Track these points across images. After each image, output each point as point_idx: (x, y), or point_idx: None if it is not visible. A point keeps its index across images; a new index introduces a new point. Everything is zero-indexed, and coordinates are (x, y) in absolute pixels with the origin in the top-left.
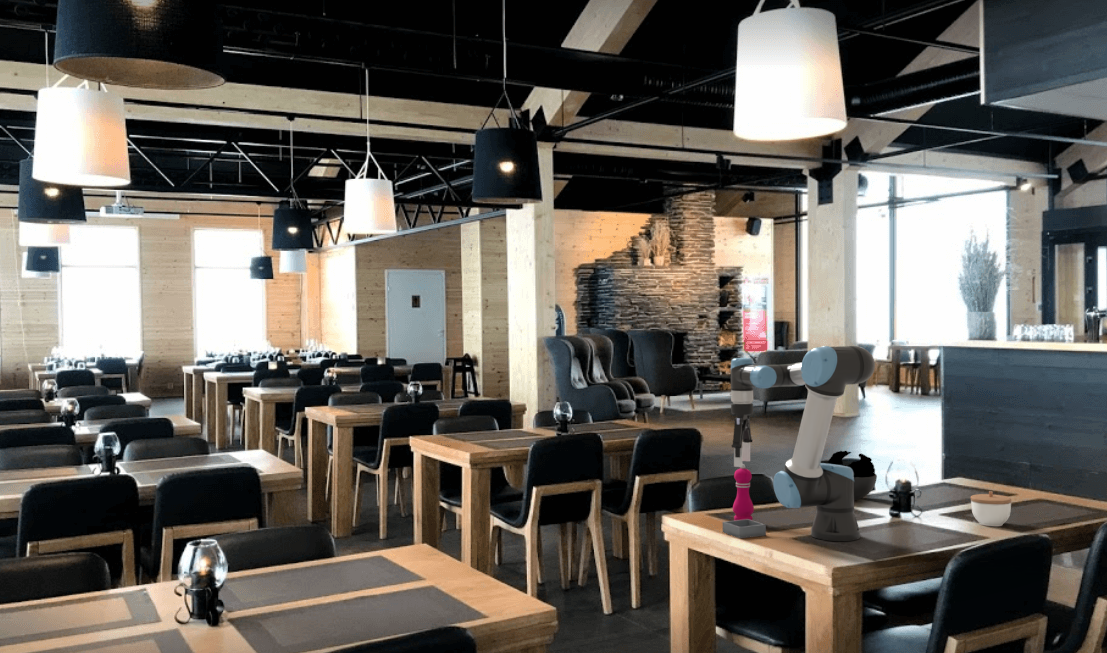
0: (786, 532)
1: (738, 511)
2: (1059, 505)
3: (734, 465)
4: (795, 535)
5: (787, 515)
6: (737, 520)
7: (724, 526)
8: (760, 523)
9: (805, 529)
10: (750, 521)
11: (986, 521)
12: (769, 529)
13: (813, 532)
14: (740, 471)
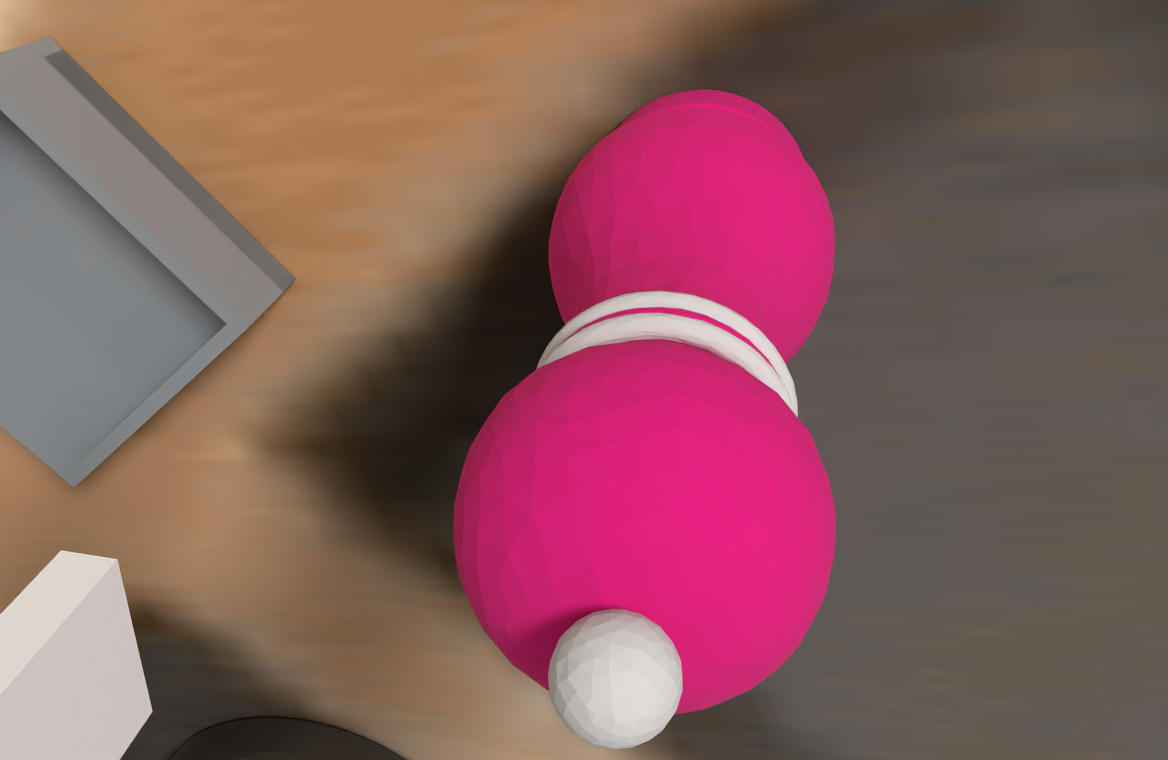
0: (321, 573)
1: (559, 199)
2: None
3: (45, 580)
4: (242, 626)
5: (1132, 599)
6: (127, 222)
7: None
8: (99, 445)
9: (490, 695)
10: (202, 346)
11: None
12: (386, 454)
13: (201, 752)
14: (478, 561)
